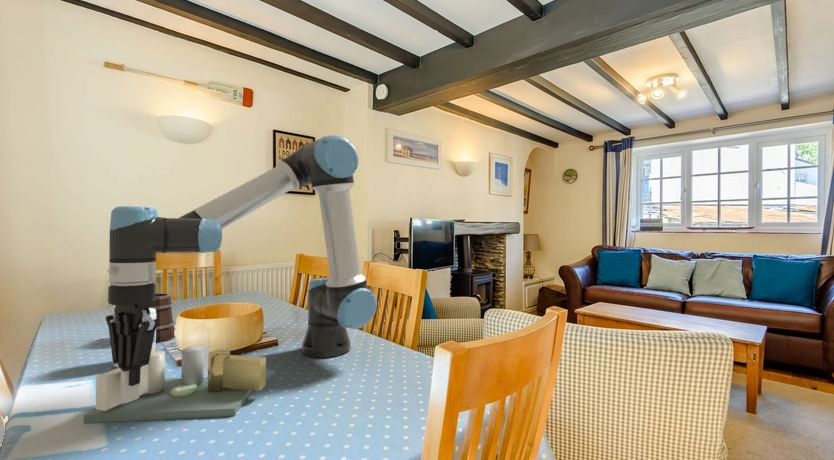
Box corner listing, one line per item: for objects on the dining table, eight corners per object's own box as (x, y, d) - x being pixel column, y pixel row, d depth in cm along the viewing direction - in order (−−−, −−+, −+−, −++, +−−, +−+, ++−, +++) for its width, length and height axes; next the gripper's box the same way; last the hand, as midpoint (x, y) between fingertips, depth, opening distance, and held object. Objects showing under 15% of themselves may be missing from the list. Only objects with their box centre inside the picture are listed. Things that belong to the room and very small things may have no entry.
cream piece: (169, 387, 84) (169, 352, 84) (108, 414, 71) (109, 373, 71) (154, 384, 85) (154, 350, 85) (91, 411, 72) (92, 371, 72)
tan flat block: (216, 382, 86) (216, 349, 86) (267, 386, 85) (268, 352, 85) (203, 390, 82) (203, 355, 82) (257, 395, 80) (257, 359, 80)
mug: (183, 336, 128) (183, 293, 128) (146, 346, 117) (147, 299, 117) (154, 331, 134) (154, 290, 134) (116, 340, 123) (117, 295, 123)
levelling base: (261, 378, 94) (262, 340, 94) (234, 415, 75) (235, 368, 75) (143, 382, 90) (143, 342, 90) (83, 423, 71) (84, 373, 71)
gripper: (91, 283, 73) (88, 402, 72) (132, 287, 68) (129, 415, 67) (132, 279, 79) (129, 387, 79) (172, 282, 75) (170, 398, 74)
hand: (129, 400), depth 73 cm, fingers closed
